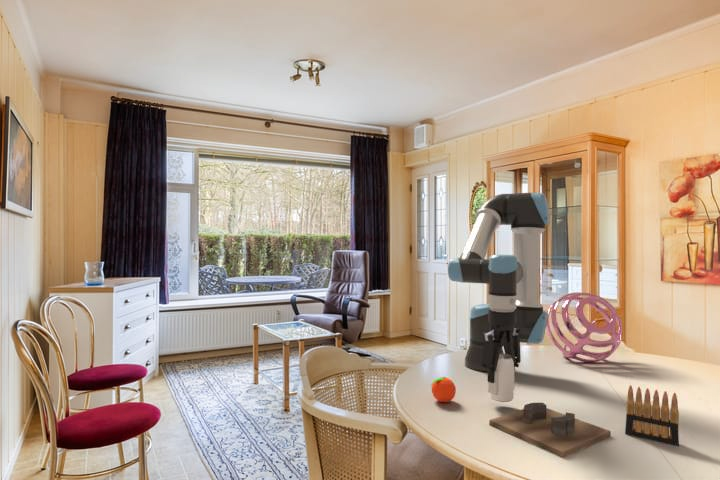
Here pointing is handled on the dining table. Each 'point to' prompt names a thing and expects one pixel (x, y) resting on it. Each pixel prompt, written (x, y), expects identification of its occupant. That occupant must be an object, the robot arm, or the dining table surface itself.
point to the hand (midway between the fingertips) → (501, 391)
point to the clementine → (443, 389)
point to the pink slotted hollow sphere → (591, 327)
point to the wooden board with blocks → (550, 429)
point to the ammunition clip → (652, 417)
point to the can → (505, 379)
